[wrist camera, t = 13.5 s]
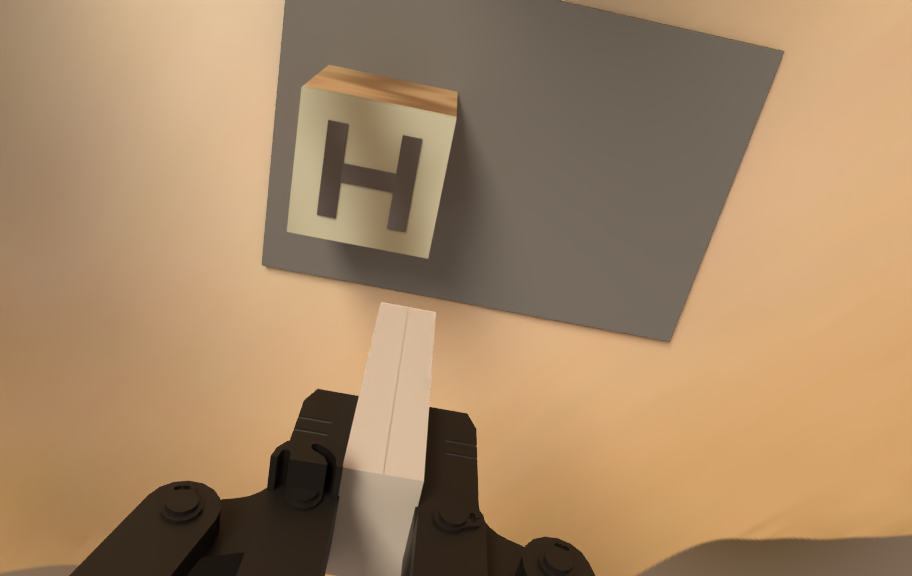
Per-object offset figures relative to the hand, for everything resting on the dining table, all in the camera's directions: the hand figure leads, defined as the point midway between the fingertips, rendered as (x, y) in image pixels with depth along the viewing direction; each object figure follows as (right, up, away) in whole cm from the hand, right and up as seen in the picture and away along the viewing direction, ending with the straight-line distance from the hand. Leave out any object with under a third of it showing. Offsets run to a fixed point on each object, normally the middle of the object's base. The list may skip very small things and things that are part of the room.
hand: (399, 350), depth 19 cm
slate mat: (+4, +9, +20) cm, 23 cm away
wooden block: (-3, +7, +13) cm, 15 cm away
